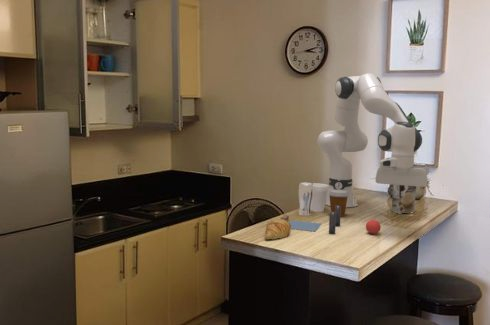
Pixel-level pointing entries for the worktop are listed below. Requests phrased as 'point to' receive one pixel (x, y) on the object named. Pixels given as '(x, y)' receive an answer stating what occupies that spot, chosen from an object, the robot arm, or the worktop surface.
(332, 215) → the post
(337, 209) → the post
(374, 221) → the ball
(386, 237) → the worktop surface
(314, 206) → the foam cup
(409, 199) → the coffee box
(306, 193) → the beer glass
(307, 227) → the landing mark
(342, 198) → the disposable coffee cup
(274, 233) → the croissant
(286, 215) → the wall
